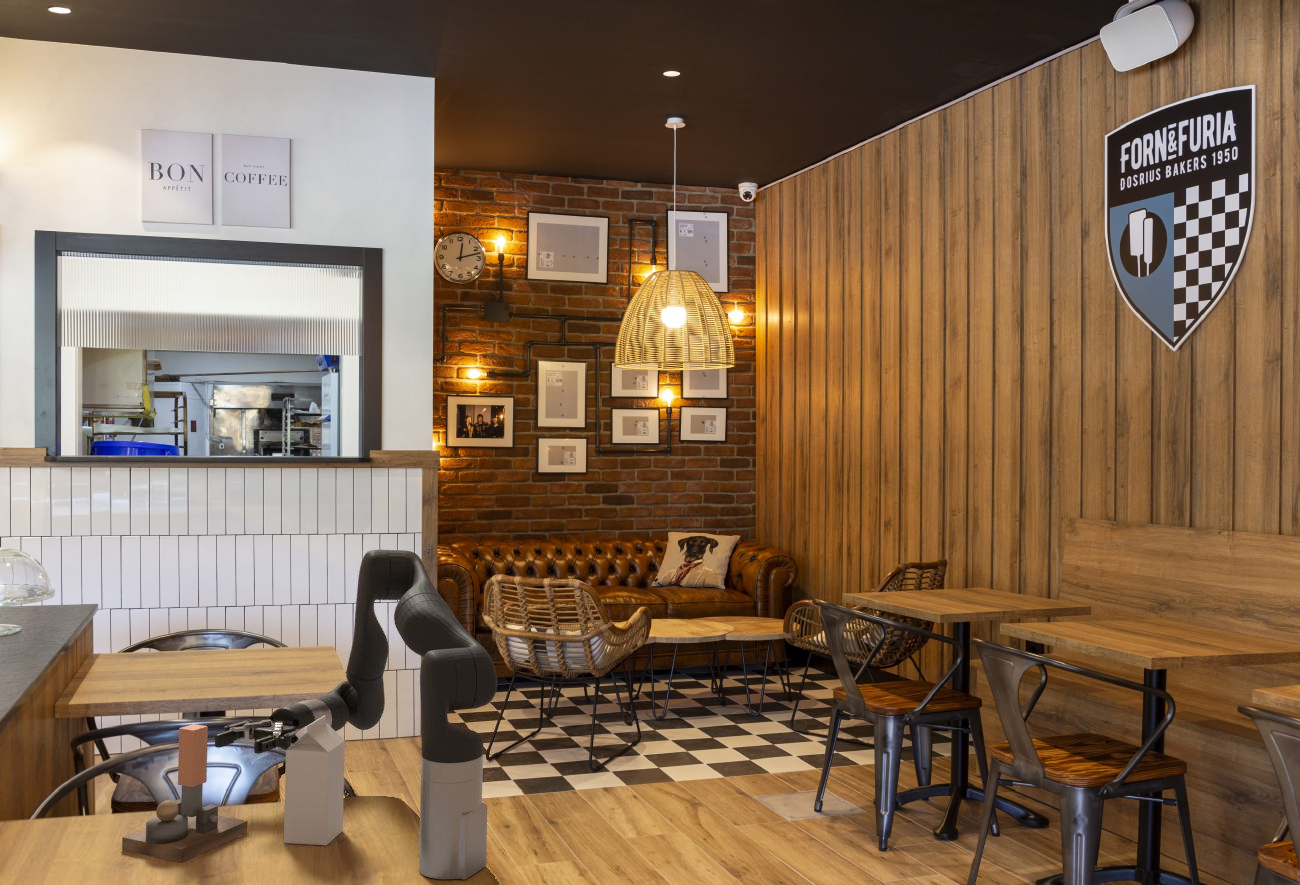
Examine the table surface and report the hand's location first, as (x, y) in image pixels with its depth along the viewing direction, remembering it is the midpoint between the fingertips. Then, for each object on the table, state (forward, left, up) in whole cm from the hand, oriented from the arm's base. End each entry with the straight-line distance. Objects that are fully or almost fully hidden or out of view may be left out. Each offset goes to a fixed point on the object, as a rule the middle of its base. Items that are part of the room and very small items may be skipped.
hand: (236, 744), depth 184 cm
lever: (0, +10, -9) cm, 13 cm away
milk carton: (-17, +1, -13) cm, 21 cm away
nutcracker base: (0, +11, -13) cm, 17 cm away
